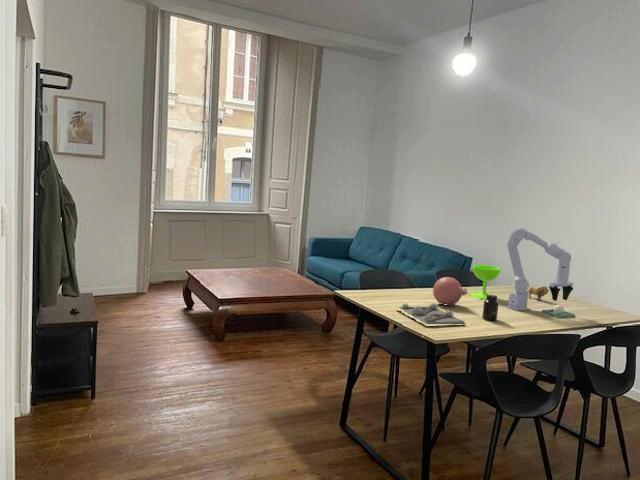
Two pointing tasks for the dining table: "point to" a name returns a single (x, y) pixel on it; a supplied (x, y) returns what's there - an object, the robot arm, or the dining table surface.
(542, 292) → the lion figurine
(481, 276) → the wineglass
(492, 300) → the supplement bottle
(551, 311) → the tray
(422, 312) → the grey bumpy flat slab
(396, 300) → the dining table surface
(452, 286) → the balloon
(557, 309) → the ball
